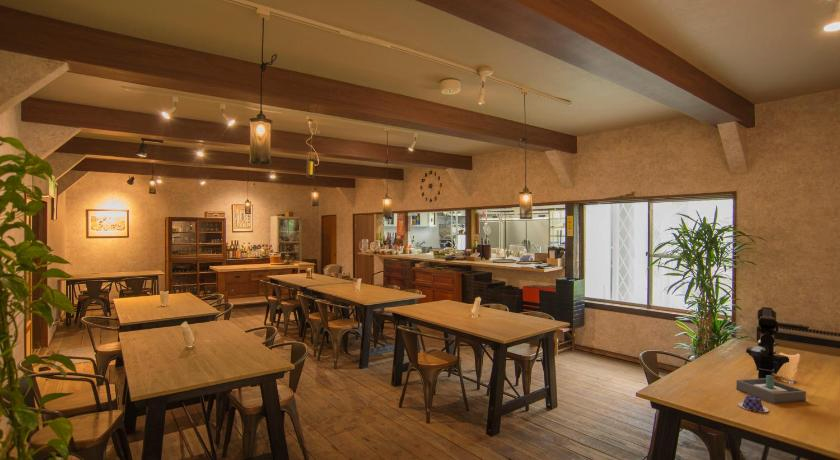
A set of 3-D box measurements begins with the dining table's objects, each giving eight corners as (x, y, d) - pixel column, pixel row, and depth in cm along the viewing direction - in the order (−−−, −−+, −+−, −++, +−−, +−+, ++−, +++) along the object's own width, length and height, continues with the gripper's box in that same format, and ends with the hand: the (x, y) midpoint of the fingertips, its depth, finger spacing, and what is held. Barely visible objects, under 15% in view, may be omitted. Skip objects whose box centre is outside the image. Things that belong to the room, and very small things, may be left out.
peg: (769, 391, 228) (769, 374, 228) (775, 394, 225) (775, 376, 225) (764, 392, 227) (764, 375, 227) (770, 394, 224) (770, 377, 224)
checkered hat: (762, 415, 201) (763, 404, 201) (733, 406, 211) (733, 395, 211) (773, 410, 207) (773, 399, 207) (743, 401, 217) (744, 391, 217)
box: (766, 387, 238) (766, 378, 238) (805, 401, 218) (805, 391, 218) (736, 389, 234) (736, 380, 234) (773, 404, 214) (773, 393, 214)
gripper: (738, 337, 236) (737, 366, 236) (772, 347, 218) (772, 378, 218) (754, 336, 239) (754, 364, 239) (790, 346, 220) (789, 376, 221)
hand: (766, 370), depth 229 cm, fingers open, 9 cm apart
